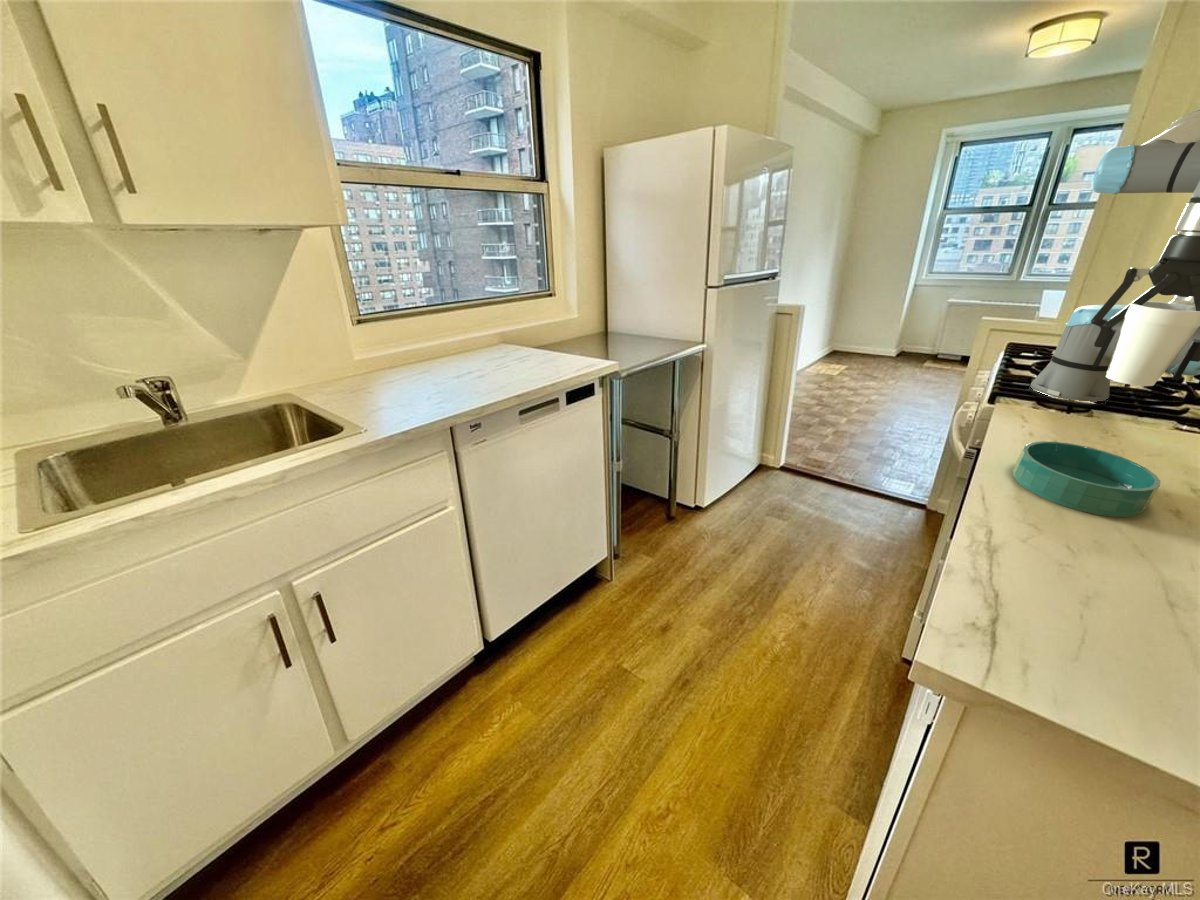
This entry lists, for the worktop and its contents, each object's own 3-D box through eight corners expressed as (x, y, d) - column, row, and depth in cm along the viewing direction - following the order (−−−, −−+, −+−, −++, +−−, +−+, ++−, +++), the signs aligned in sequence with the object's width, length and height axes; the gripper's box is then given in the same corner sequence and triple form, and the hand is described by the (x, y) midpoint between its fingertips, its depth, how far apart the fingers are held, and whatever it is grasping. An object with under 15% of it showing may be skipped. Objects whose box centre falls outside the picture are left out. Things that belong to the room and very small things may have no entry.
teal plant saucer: (1023, 456, 96) (1034, 433, 93) (1147, 490, 84) (1162, 465, 82) (1002, 486, 85) (1013, 461, 83) (1140, 530, 74) (1157, 503, 72)
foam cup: (1083, 375, 89) (1118, 303, 83) (1110, 369, 92) (1145, 299, 86) (1151, 392, 81) (1195, 313, 75) (1178, 385, 84) (1222, 309, 78)
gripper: (1108, 232, 81) (1050, 362, 91) (1328, 239, 66) (1229, 392, 76) (1113, 230, 85) (1057, 354, 95) (1320, 236, 71) (1228, 382, 81)
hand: (1134, 371), depth 86 cm, fingers closed on foam cup, 9 cm apart
